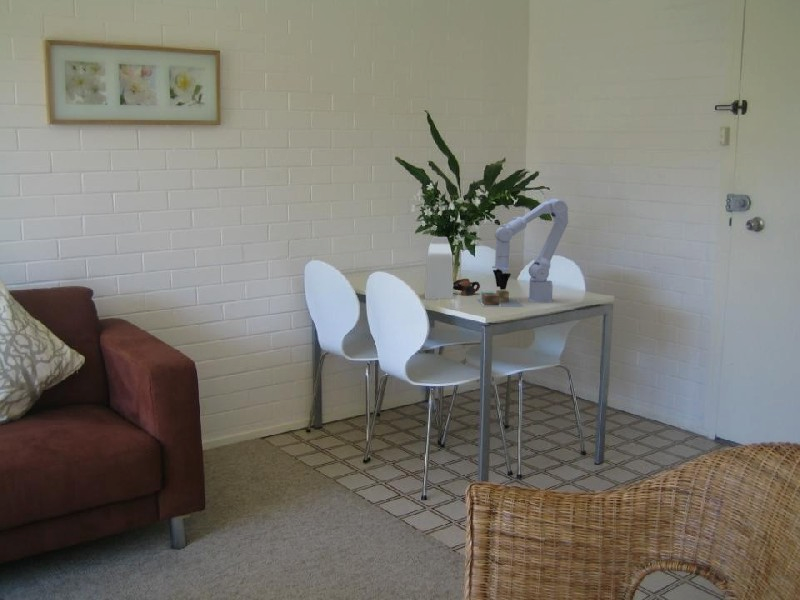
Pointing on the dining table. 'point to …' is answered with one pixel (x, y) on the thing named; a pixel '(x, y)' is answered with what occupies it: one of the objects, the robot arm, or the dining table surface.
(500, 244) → the robot arm
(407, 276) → the dining table surface
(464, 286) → the pottery mug
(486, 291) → the teal block
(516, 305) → the blueprint mat
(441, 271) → the milk
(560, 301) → the dining table surface
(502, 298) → the oak block
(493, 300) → the walnut base
